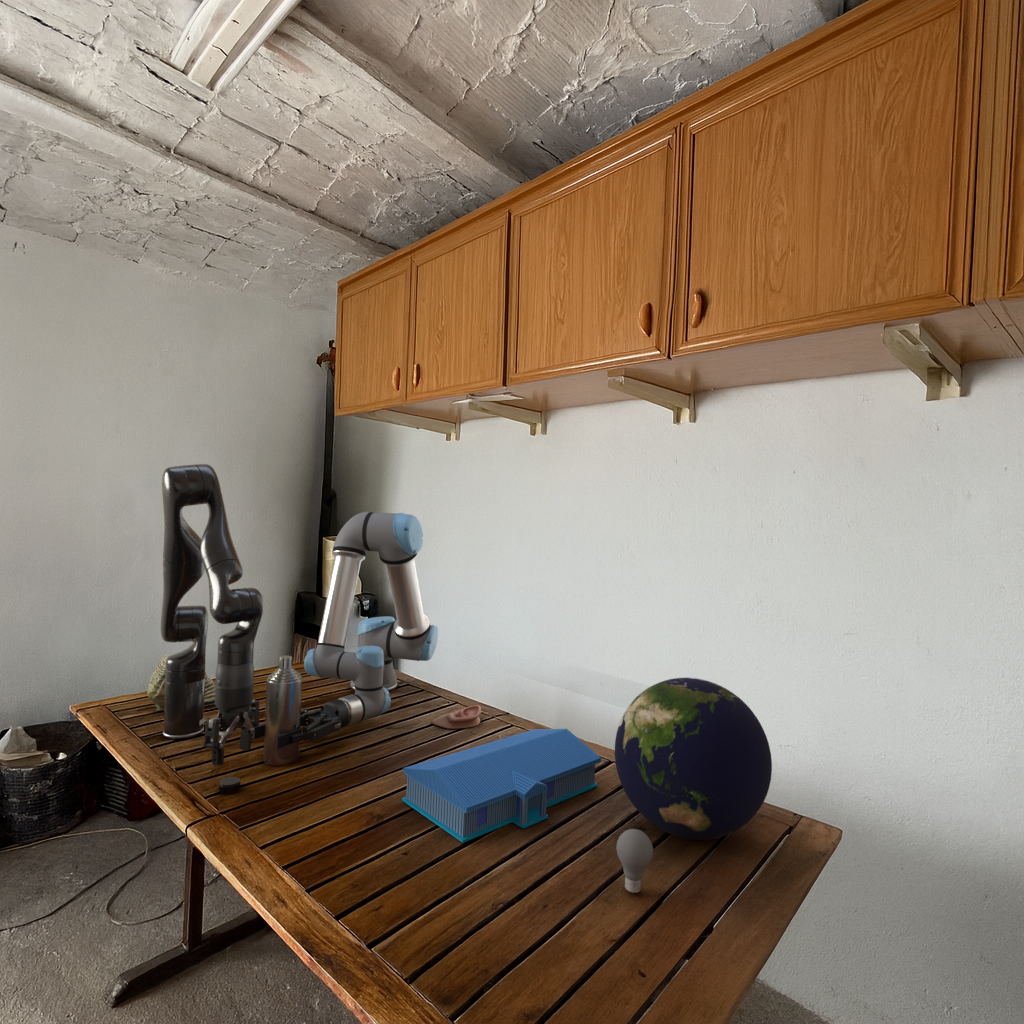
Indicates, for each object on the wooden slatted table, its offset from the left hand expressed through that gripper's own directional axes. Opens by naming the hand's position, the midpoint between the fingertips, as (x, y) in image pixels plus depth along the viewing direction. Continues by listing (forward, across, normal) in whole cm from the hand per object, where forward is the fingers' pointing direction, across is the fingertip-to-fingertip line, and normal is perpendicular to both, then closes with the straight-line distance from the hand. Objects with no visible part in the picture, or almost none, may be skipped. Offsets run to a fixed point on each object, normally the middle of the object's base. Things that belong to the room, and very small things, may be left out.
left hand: (232, 757), depth 135 cm
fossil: (+8, +38, +47) cm, 61 cm away
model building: (+6, +18, -57) cm, 60 cm away
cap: (+5, -1, 0) cm, 5 cm away
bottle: (+7, +17, 0) cm, 18 cm away
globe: (+6, +16, -94) cm, 96 cm away
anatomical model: (+7, +56, -31) cm, 64 cm away
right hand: (+1, +13, +1) cm, 13 cm away
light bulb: (+6, -8, -85) cm, 86 cm away
